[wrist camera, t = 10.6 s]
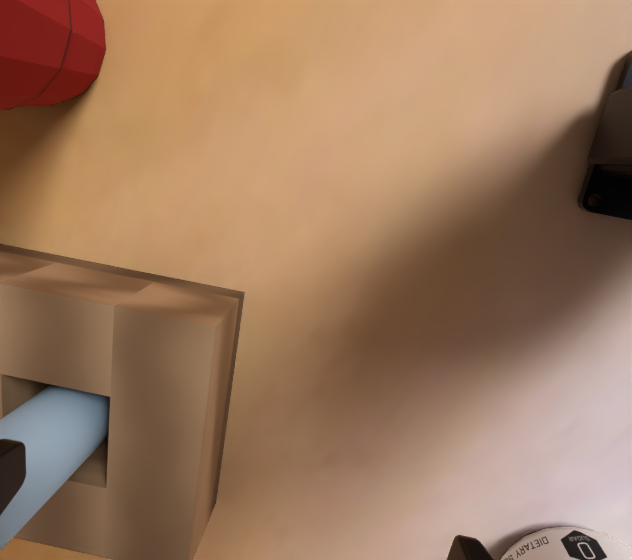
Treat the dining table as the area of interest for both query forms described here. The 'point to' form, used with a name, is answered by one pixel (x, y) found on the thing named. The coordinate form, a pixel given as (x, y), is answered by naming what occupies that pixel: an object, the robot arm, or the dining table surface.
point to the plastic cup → (48, 50)
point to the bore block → (124, 396)
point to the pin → (51, 446)
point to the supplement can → (568, 546)
